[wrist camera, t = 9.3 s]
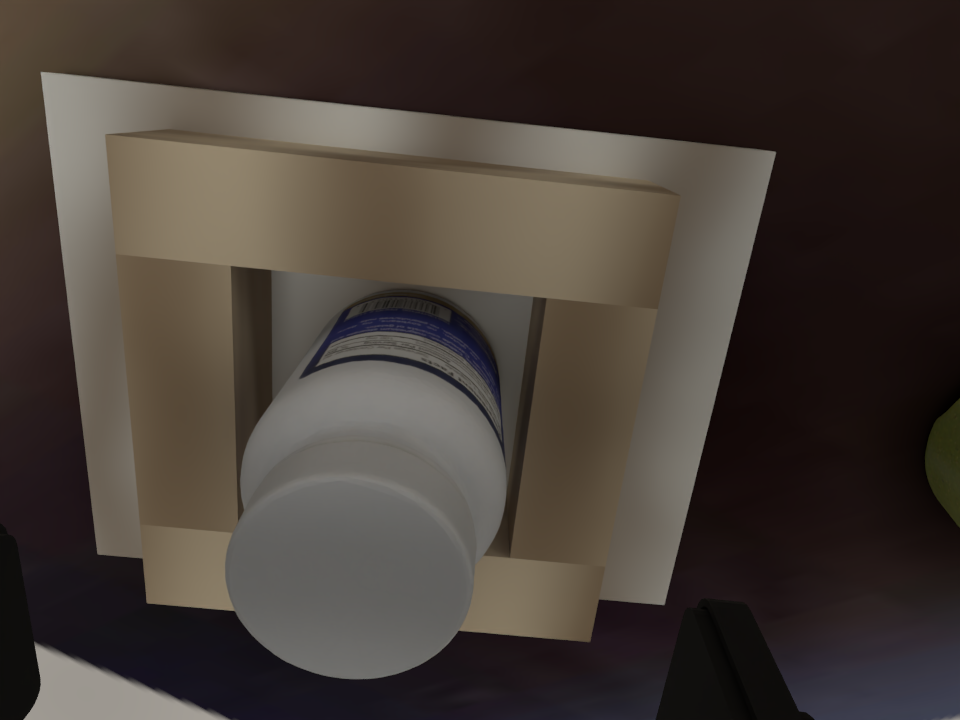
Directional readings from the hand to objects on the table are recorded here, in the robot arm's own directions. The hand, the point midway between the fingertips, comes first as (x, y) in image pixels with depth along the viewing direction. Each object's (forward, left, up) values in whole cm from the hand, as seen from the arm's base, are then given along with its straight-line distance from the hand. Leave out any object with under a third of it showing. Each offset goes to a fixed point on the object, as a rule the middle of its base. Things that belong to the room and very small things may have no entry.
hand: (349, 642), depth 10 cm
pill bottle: (0, 0, -10) cm, 10 cm away
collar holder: (+1, 0, -11) cm, 11 cm away
